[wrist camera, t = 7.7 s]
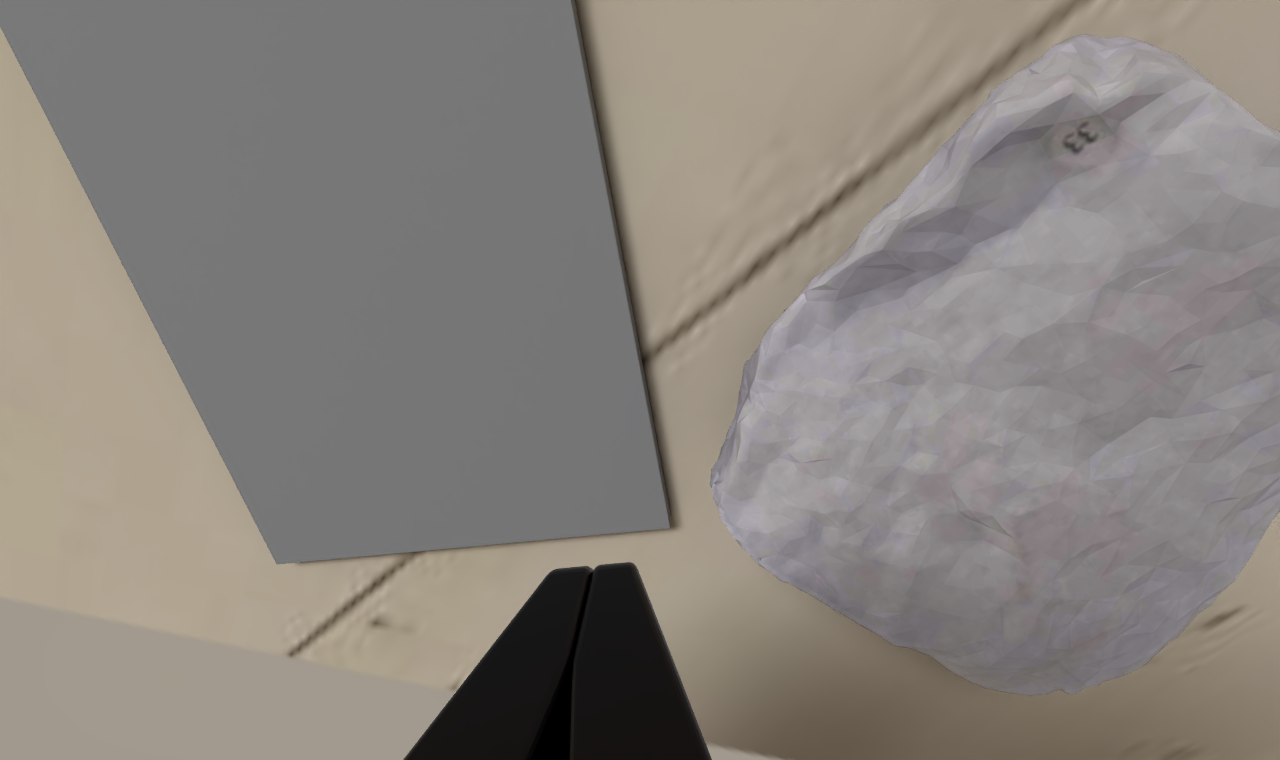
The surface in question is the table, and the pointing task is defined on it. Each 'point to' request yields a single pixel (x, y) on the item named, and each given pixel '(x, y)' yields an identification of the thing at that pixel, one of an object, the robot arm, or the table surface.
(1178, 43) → the table surface
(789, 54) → the table surface
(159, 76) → the mat
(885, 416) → the stone block
